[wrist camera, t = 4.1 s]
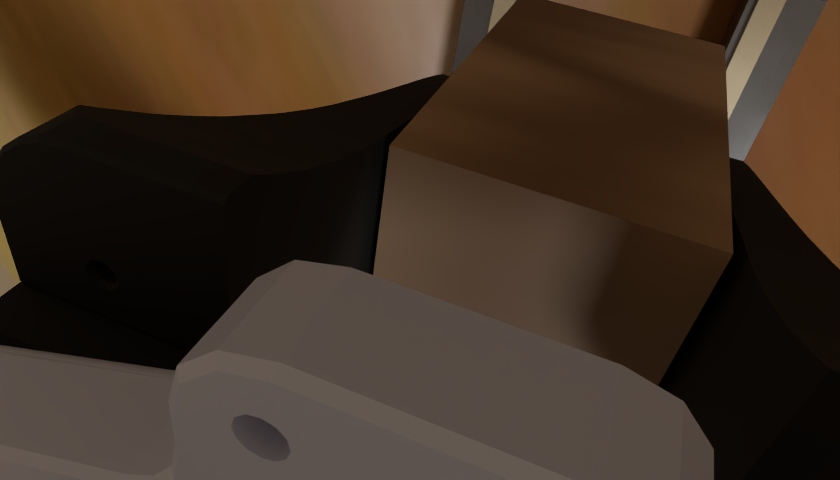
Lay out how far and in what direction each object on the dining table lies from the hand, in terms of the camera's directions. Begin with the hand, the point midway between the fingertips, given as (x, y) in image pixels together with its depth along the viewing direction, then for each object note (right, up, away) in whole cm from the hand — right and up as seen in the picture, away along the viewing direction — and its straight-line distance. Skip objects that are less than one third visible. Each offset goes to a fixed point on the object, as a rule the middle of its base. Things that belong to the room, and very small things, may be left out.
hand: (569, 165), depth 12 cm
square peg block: (+1, +1, +2) cm, 3 cm away
